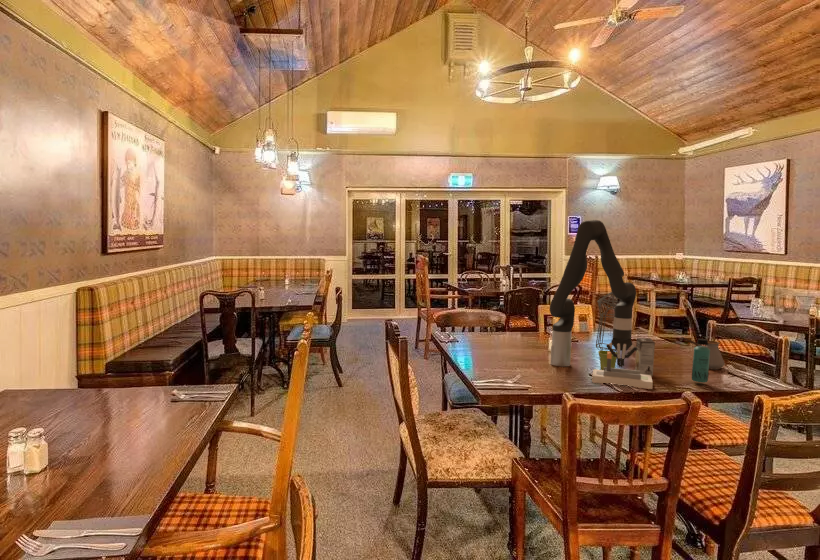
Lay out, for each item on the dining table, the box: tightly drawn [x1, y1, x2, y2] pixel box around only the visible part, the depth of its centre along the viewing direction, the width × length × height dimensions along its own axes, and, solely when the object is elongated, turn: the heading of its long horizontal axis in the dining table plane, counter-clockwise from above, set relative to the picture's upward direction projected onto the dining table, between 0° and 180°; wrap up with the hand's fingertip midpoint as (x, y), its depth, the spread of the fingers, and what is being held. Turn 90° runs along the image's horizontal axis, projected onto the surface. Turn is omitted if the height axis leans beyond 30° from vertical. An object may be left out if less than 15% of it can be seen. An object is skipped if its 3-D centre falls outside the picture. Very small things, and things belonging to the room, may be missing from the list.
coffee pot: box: [679, 336, 726, 370], centre depth 253 cm, size 21×12×15 cm, turn 87°
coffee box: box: [634, 337, 656, 377], centre depth 240 cm, size 9×6×16 cm
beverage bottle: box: [691, 338, 710, 383], centre depth 223 cm, size 6×7×20 cm
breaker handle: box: [605, 350, 612, 372], centre depth 226 cm, size 3×6×9 cm, turn 158°
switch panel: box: [591, 367, 653, 390], centre depth 224 cm, size 24×12×5 cm, turn 68°
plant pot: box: [597, 350, 617, 370], centre depth 244 cm, size 9×9×9 cm
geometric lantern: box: [595, 291, 620, 352], centre depth 276 cm, size 16×16×35 cm
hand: (620, 366), depth 224 cm, fingers closed
